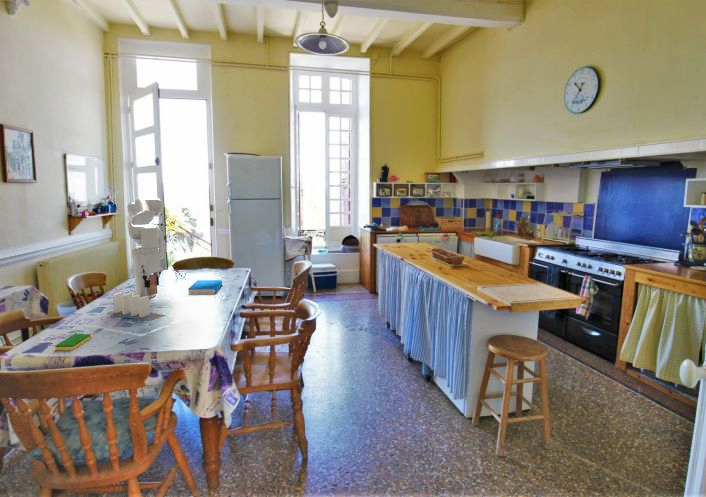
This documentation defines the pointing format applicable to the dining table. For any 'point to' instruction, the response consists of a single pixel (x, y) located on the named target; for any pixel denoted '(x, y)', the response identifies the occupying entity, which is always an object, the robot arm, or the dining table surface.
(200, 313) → the dining table surface
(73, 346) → the dish sponge
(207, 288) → the book
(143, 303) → the domino
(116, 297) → the domino
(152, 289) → the domino
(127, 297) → the domino
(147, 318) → the mat
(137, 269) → the robot arm
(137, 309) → the domino
